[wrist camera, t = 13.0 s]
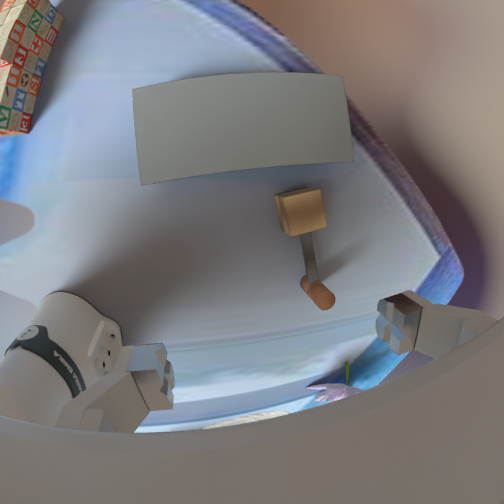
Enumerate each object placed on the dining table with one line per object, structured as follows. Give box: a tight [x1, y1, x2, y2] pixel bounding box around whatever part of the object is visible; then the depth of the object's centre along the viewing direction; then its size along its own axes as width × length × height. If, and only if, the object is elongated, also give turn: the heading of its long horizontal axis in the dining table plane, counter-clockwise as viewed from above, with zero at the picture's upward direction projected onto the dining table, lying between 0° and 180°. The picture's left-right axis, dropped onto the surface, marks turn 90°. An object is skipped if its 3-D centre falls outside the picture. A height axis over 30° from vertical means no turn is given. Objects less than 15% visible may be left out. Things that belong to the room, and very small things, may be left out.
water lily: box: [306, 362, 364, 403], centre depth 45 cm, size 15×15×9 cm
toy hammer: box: [274, 188, 335, 310], centre depth 37 cm, size 15×5×7 cm, turn 13°
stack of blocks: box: [0, 0, 64, 137], centre depth 19 cm, size 21×6×12 cm, turn 172°
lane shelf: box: [132, 72, 354, 186], centre depth 31 cm, size 11×25×7 cm, turn 97°
